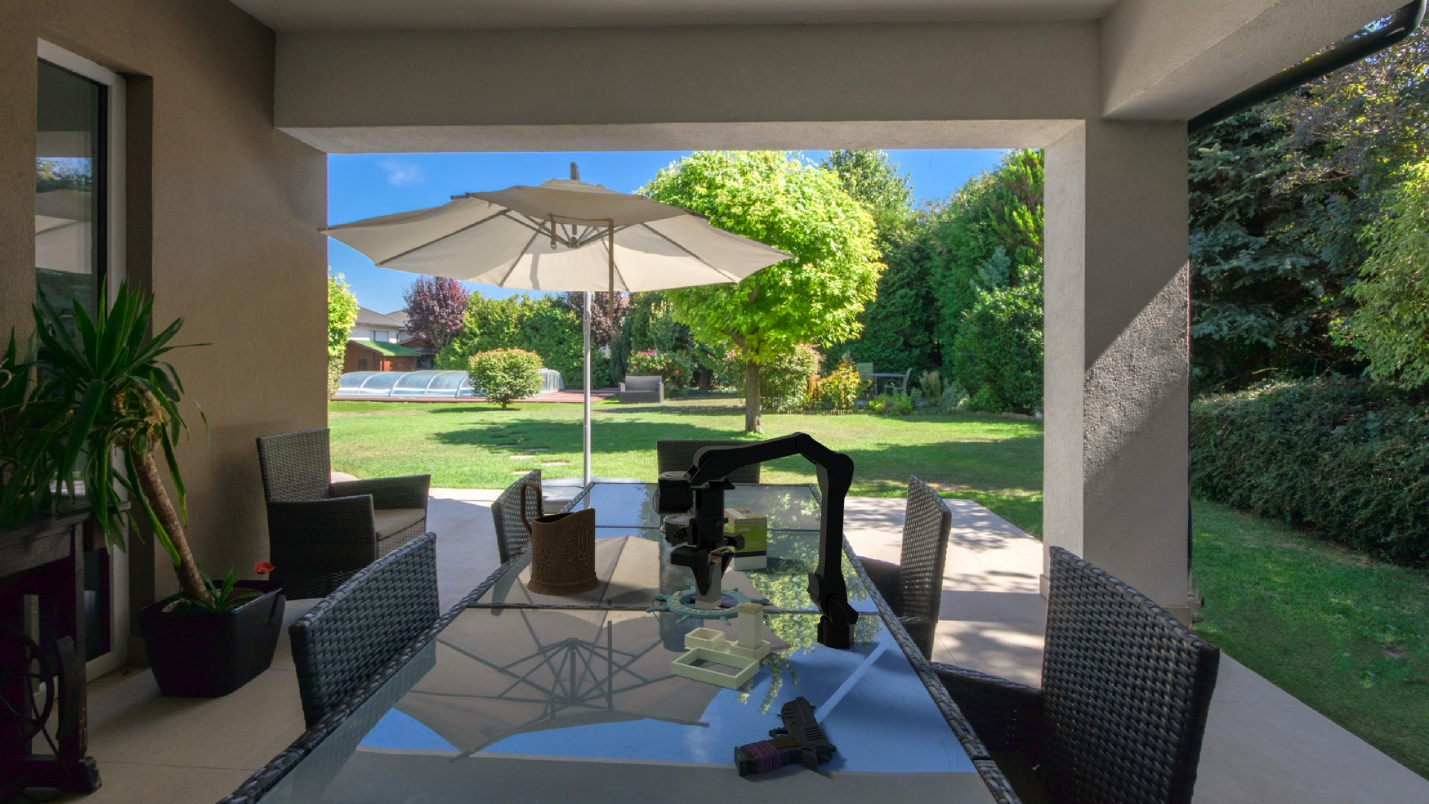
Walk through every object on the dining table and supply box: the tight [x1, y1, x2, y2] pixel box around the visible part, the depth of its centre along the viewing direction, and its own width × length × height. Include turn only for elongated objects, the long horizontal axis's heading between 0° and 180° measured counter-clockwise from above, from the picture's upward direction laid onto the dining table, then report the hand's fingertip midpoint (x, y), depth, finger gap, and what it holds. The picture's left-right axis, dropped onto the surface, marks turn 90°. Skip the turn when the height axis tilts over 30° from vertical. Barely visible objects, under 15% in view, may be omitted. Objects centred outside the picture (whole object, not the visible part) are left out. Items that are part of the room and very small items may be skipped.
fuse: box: [737, 602, 764, 650], centre depth 146 cm, size 4×4×9 cm
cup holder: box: [519, 482, 601, 597], centre depth 194 cm, size 18×24×25 cm
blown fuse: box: [694, 555, 722, 610], centre depth 146 cm, size 4×4×9 cm
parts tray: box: [670, 646, 760, 691], centre depth 138 cm, size 13×9×3 cm
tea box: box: [724, 506, 768, 571], centre depth 217 cm, size 15×10×15 cm
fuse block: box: [684, 627, 772, 662], centre depth 149 cm, size 16×8×3 cm, turn 61°
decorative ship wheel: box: [645, 585, 770, 627], centre depth 176 cm, size 30×3×30 cm
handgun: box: [733, 696, 837, 777], centre depth 115 cm, size 3×20×15 cm
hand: (708, 592), depth 147 cm, fingers closed on blown fuse, 4 cm apart
